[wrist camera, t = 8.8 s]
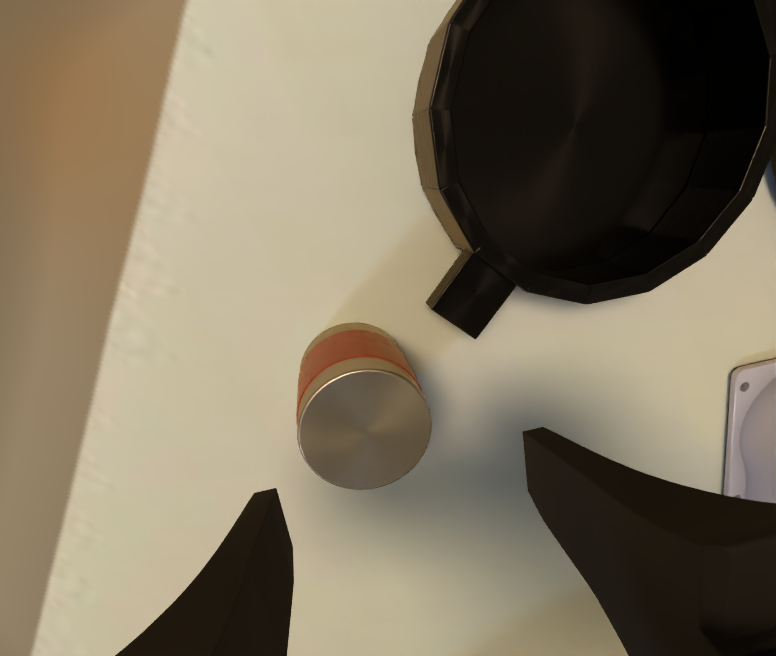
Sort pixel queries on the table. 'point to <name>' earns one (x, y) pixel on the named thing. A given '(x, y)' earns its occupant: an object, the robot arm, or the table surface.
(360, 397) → the can
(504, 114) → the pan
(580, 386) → the table surface
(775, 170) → the pan lid
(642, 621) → the robot arm
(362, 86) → the table surface
